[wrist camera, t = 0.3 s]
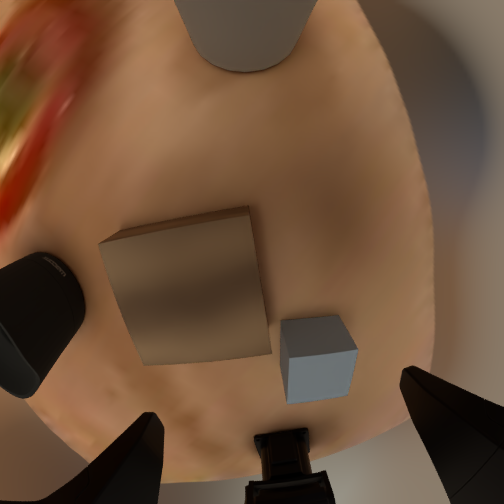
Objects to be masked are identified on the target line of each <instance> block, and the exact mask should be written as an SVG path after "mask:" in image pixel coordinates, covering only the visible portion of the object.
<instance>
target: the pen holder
mask: <svg viewBox="0 0 504 504" xmlns="http://www.w3.org/2000/svg"><path fill="white" fill-rule="evenodd" d="M83 319H84V301H83V296H82V293H81V290H80V287H79V285H78V283H77V281H76V279H75V278H74V276H73V274H72V273H71V272H70V270H69V269H68V268H67V267H66V266H65V265H64V264H63V263H62V262H61V261H60V260H58V259H57V258H55V257H54V256H52V255H50V254H47V253H42V252H37V253H33V254H30V255H28V256H26V257H24V258H22V259H19V260H17V261H15V262H13V263H11V264H9V265H7V266H5V267H3V268H1V269H0V387H2V388H3V389H4V390H6V391H7V392H9V393H10V394H12V395H14V396H16V397H18V398H22V399H25V398H29V397H31V396H32V395H33V394H34V393H35V392H36V391H37V390H38V388H39V386H40V385H41V383H42V382H43V380H44V379H45V377H46V376H47V374H48V373H49V371H50V370H51V368H52V367H53V365H54V364H55V362H56V361H57V359H58V358H59V356H60V355H61V353H62V352H63V351H64V349H65V348H66V346H67V345H68V344H69V342H70V341H71V339H72V338H73V336H74V335H75V334H76V332H77V331H78V329H79V328H80V326H81V324H82V322H83Z"/></svg>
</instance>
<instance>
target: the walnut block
mask: <svg viewBox="0 0 504 504" xmlns="http://www.w3.org/2000/svg"><path fill="white" fill-rule="evenodd" d="M98 245H99V249H100V252H101V256H102V259H103V262H104V266H105V269H106V272H107V275H108V278H109V281H110V284H111V287H112V290H113V293H114V295H115V298H116V301H117V304H118V306H119V309H120V311H121V314H122V317H123V319H124V322H125V324H126V327H127V329H128V331H129V334H130V336H131V338H132V341H133V343H134V345H135V348H136V350H137V352H138V354H139V356H140V358H141V361H142V363H143V365H144V366H145V365H170V364H187V363H200V362H211V361H221V360H230V359H238V358H246V357H254V356H261V355H268V354H272V350H271V344H270V337H269V330H268V323H267V317H266V311H265V305H264V298H263V292H262V286H261V280H260V274H259V268H258V261H257V255H256V249H255V243H254V237H253V231H252V225H251V219H250V212H249V206H244V207H238V208H232V209H226V210H220V211H215V212H209V213H204V214H198V215H193V216H188V217H182V218H177V219H172V220H167V221H162V222H157V223H153V224H148V225H143V226H138V227H134V228H129V229H125V230H120V231H118V232H117V233H115V234H113V235H112V236H110V237H109V238H107V239H105V240H104V241H102V242H100V243H99V244H98Z"/></svg>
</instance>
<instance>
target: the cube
mask: <svg viewBox="0 0 504 504" xmlns="http://www.w3.org/2000/svg"><path fill="white" fill-rule="evenodd" d="M357 353H358V348H357V346H356V344H355V342H354V341H353V339H352V337H351V336H350V334H349V332H348V330H347V329H346V327H345V325H344V324H343V322H342V320H341V318H340V317H339V315H335V316H325V317H315V318H305V319H293V320H281V331H280V368H281V373H282V379H283V385H284V390H285V396H286V402H287V404H294V403H303V402H311V401H318V400H324V399H331V398H337V397H342V396H347V395H348V392H349V388H350V384H351V380H352V376H353V371H354V367H355V363H356V358H357Z"/></svg>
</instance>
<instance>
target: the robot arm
mask: <svg viewBox="0 0 504 504" xmlns="http://www.w3.org/2000/svg"><path fill="white" fill-rule="evenodd" d="M400 390H401V393H402V395H403V398H404V400H405V403H406V406H407V408H408V411H409V414H410V417H411V419H412V421H413V424H414V426H415V428H416V430H417V431H418V433H419V435H420V437H421V439H422V441H423V443H424V445H425V447H426V450H427V452H428V454H429V456H430V458H431V460H432V462H433V464H434V466H435V469H436V471H437V473H438V475H439V477H440V479H441V482H442V484H443V486H444V489H445V491H446V493H447V496H448V498H449V500H450V503H451V504H504V407H502V406H500V405H498V404H495V403H493V402H491V401H488V400H486V399H485V400H484V398H481V397H479V396H477V395H475V394H473V393H471V392H468V391H466V390H464V389H462V388H460V387H458V386H455V385H453V384H451V383H449V382H447V381H445V380H443V379H441V378H439V377H437V376H434V375H432V374H430V373H428V372H426V371H424V370H422V369H420V368H418V367H416V366H413V365H412V366H409V367H406V368H404V369H403V370H402V375H401V380H400ZM254 442H255V445H256V448H257V451H258V453H259V456H260V458H261V464H262V478H263V481H249V485H248V486H246V487H245V503H244V504H336V503H335V498H334V494H333V491H332V488H331V485H330V482H329V479H328V476H327V472H326V471H321V472H318V473H312V470H311V465H310V460H309V455H308V453H309V452H310V448H309V432H308V429H307V428H303V429H297V430H292V431H286V432H280V433H273V434H266V435H258V436H255V437H254ZM163 454H164V426H163V424H162V422H161V421H160V419H159V418H158V416H157V415H156V413H154V412H144V413H143V414H142V415H141V416H140V417H139V418H138V419H137V420H136V421H134V422H133V423H132V424H131V425H130V426H129V427H128V428H127V429H126V430H125V431H124V432H123V433H122V434H121V435H120V436H119V437H118V438H117V439H116V440H115V441H114V442H113V443H112V444H111V445H110V446H108V447H107V448H106V449H105V450H104V451H103V452H102V453H101V454H100V455H99V456H98V457H97V458H96V459H95V460H93V461H92V462H91V463H90V464H89V465H88V467H86V468H85V469H84V470H82V471H81V472H80V473H79V474H78V475H77V476H75V477H74V478H73V479H72V480H71V481H69V482H68V483H66V484H65V485H64V486H62V487H61V488H59V489H58V490H56V491H55V492H53V493H52V494H51V495H49V496H48V497H46V498H44V499H42V500H39V501H2V500H0V504H157V503H158V496H159V488H160V481H161V475H162V468H163Z"/></svg>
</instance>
